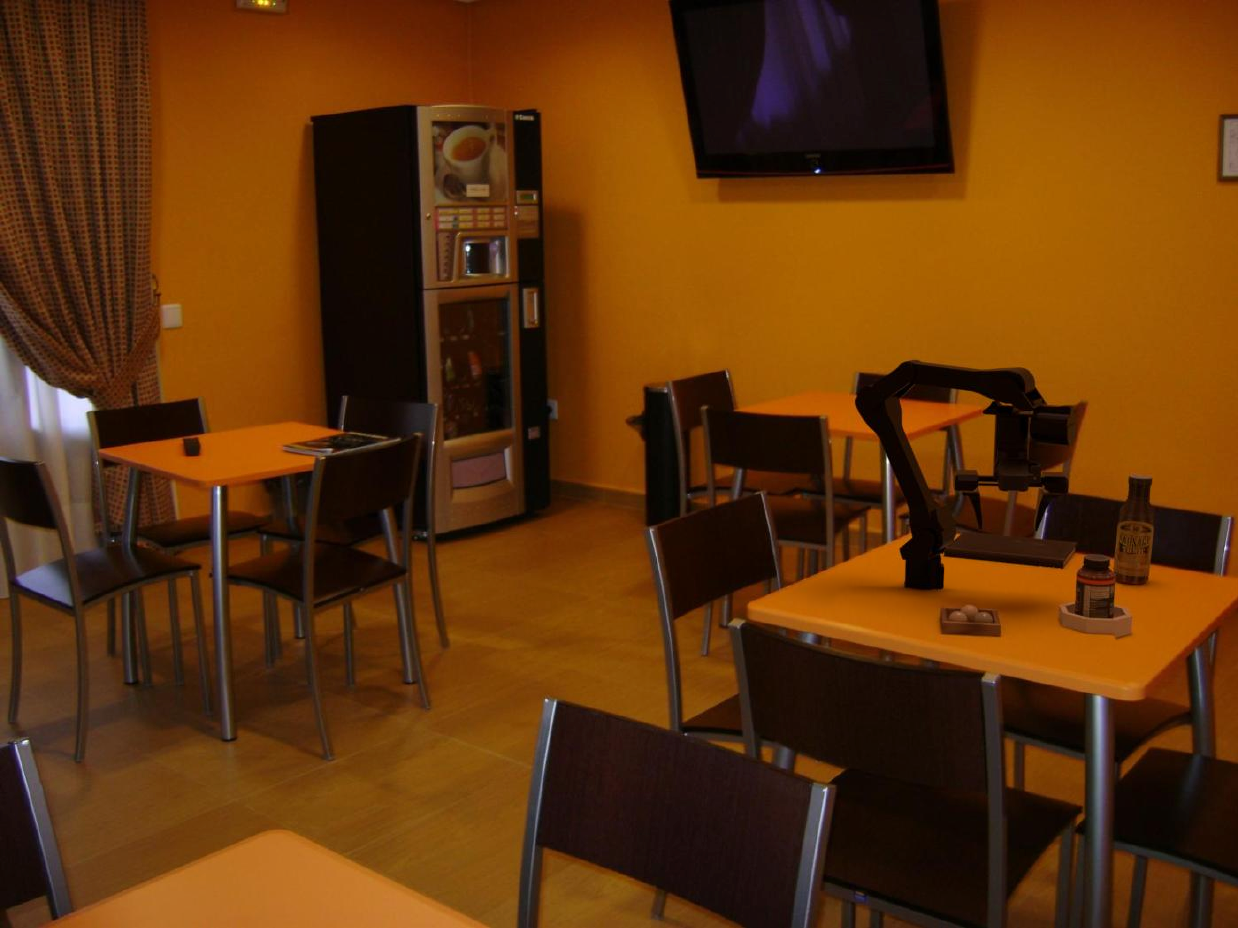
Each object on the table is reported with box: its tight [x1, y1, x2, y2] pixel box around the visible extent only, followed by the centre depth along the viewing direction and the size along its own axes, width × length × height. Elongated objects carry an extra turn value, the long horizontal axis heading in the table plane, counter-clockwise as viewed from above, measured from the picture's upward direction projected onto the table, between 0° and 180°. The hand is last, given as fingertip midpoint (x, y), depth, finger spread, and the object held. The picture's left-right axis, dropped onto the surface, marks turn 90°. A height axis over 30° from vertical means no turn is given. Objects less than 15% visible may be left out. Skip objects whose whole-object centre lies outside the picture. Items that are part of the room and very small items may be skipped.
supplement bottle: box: [1074, 553, 1116, 619], centre depth 207 cm, size 6×6×11 cm
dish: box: [1058, 600, 1133, 639], centre depth 208 cm, size 11×11×3 cm
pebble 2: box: [960, 604, 979, 622], centre depth 209 cm, size 3×3×3 cm
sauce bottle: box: [1112, 474, 1156, 585], centre depth 234 cm, size 7×6×20 cm
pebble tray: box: [939, 606, 1002, 637], centre depth 207 cm, size 9×9×3 cm
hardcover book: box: [943, 531, 1078, 570], centre depth 257 cm, size 16×23×2 cm
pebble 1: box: [948, 611, 968, 622], centre depth 206 cm, size 3×3×3 cm
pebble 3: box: [974, 612, 993, 623], centre depth 205 cm, size 3×3×3 cm
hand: (1007, 530), depth 221 cm, fingers open, 9 cm apart
